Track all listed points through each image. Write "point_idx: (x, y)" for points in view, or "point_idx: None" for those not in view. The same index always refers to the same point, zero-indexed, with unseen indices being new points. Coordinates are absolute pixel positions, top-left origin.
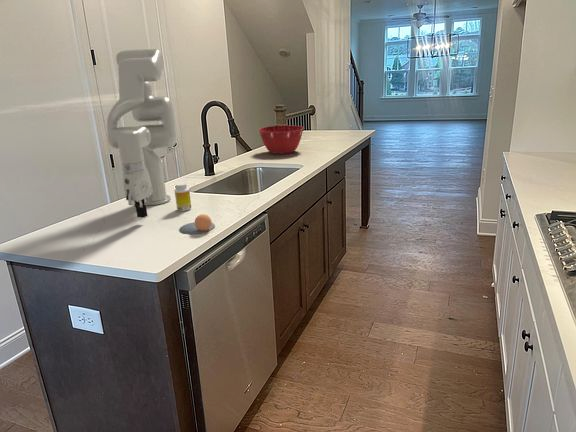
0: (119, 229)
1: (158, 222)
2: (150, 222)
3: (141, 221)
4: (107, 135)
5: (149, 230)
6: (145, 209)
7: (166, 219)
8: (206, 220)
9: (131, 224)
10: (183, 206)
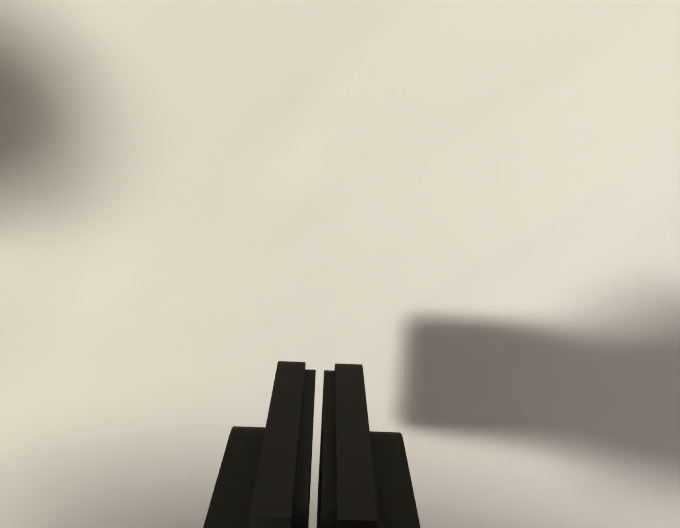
0: (582, 523)
1: (248, 148)
2: (271, 281)
3: None
4: None
5: (648, 78)
6: (295, 451)
7: (75, 87)
8: None
9: None
10: None
